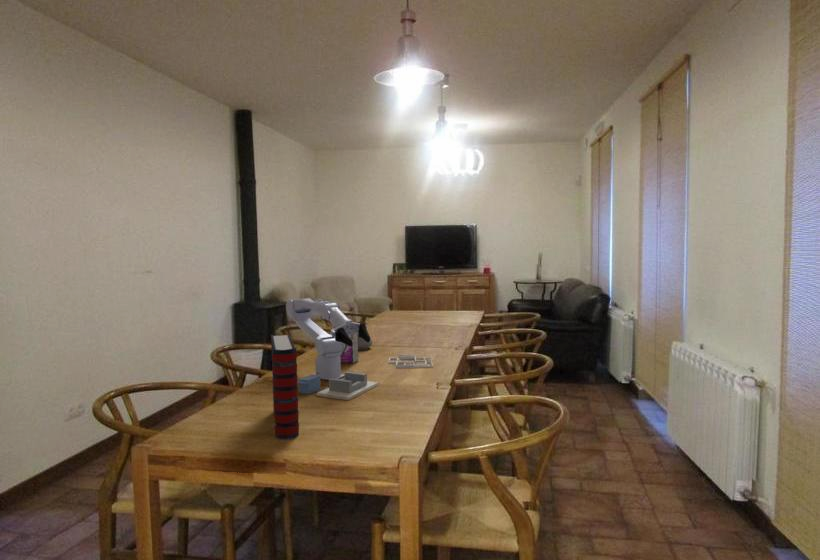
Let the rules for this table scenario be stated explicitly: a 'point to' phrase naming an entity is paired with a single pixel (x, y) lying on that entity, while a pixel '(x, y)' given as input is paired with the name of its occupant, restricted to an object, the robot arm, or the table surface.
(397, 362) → the floor plan model
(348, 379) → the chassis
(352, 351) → the candy bar box
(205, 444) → the table surface
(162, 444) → the table surface
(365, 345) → the coffee pot
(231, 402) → the table surface
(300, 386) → the block
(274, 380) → the book
